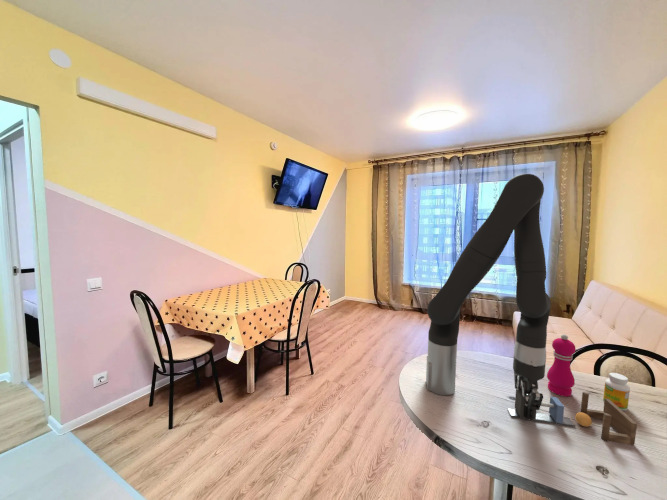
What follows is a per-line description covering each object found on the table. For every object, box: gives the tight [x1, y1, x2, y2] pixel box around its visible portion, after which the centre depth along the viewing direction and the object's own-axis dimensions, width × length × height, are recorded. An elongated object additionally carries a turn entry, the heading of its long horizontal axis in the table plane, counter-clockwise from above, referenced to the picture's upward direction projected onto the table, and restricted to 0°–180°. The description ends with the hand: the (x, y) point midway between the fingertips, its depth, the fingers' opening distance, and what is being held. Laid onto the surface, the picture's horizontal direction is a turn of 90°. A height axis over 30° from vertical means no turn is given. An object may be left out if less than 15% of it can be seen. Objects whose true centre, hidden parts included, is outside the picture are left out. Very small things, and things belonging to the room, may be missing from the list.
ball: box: [574, 411, 593, 428], centre depth 77 cm, size 4×4×4 cm
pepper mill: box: [546, 334, 577, 397], centre depth 91 cm, size 7×7×20 cm
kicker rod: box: [514, 389, 565, 423], centre depth 80 cm, size 11×4×6 cm, turn 75°
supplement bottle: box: [602, 372, 631, 411], centre depth 85 cm, size 5×5×10 cm
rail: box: [507, 408, 577, 428], centre depth 80 cm, size 16×3×1 cm, turn 75°
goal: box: [579, 391, 638, 446], centre depth 75 cm, size 7×10×7 cm, turn 165°
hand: (525, 412), depth 81 cm, fingers closed on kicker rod, 4 cm apart
